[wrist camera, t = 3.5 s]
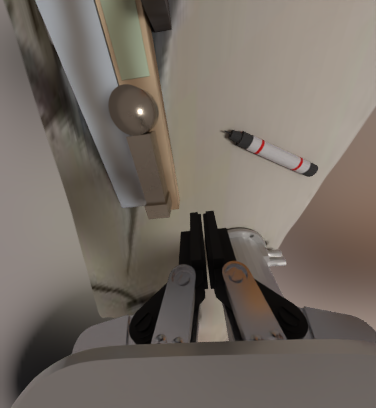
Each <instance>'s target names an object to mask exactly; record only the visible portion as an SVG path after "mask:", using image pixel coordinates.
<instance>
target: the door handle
mask: <svg viewBox="0 0 376 408" xmlns="http://www.w3.org/2000/svg"><path fill="white" fill-rule="evenodd" d="M108 108H109V113H110V116H111V119H112V120H113V122H114V124H115V125H116V126H117V127H118V128H119V129H120V130H121V131H122V132H124V133H126V134H128V135H130V136H127V137H126V139H127V142H128V145H129V148H130V152H131V155H132V158H133V161H134V164H135V168H136V171H137V174H138V177H139V181H140V184H141V187H142V190H143V193H144V197H145V200H146V205H145V209H146V212H147V215H148V218H149V219H156V218H167V217H170V212H171V207H172V199H171V194H170V191H168V189H167V184H166V179H165V175H164V170H163V165H162V160H161V156H160V151H159V146H158V141H157V137H156V132H155V131H150V130H151V129H153V128H154V127H155V125H156V124H157V121H158V118H159V110H158V106H157V103H156V101H155V99H154V98H153V97H152V95H151V94H150V93H148V92H147V91H145V90H143V89H141V88H138V87H136V86H133V85H130V84H123V85H120V86H118V87H116V88H115V89H114V90H113V91H112V93H111V95H110V97H109V102H108Z"/></svg>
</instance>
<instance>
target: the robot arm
mask: <svg viewBox="0 0 376 408" xmlns="http://www.w3.org/2000/svg"><path fill="white" fill-rule="evenodd" d="M203 220H204V232H205V244H206V252H207V261H208V269H209V278H210V286H211V289H214V291H215V294H216V298H218V299H219V300H220V301H221V302H222V305H223V308H224V314H225V320H226V326H227V332H228V338H229V341H226V342H197V341H198V328H199V315H200V304H201V302H202V301H203V300H204V299H205V289H208V282H207V271H206V260H205V250H204V240H203V231H202V222H201V214H198V212H195V213H190V231H185V232H181V239H180V254H179V265H178V266H176V267H175V268H174V269H173V270H172V271H171V273H170V275H169V279H168V282H167V284H166V285H164V286H163V287H162V288H161V289H160V290H159V291H158V292H157V293H156V294H155V295H154V296H153V297H152V298H151V299H150V300H149V301H148V302H146V303H145V304H144V305H143V306H142V307H141V308H140V309H139V310H138V311H137V312H136V313H135V314H134V315H131V316H129V315H125V316H122V317H119V318H116V319H113V320H110V321H106V322H103V323H100V324H97V325H94V326H91V327H89V328H87V329H86V330H85V331H84V332H83V333H82V334H81V335H80V336H79V338H78V339H77V342H76V343H75V346H74V349H73V352H72V355H70V356H68V357H65V358H63V359H62V360H60V361H58V362H56V363H55V364H53V365H51V366H50V367H48V368H47V369H45V370H44V371H43V372H42V373H40V374H39V375H38V376H37V377H36V378H35V379H33V380H32V381H31V383H30V384H29V385H28V386H27V387H26V388H25V389H24V391H23V392H22V393H21V394H20V396H19V397H18V399H17V400H16V401H15V402H14V404H13V405H12V407H11V408H376V331H375V330H374V329H373V328H372V327H371V326H369V325H368V324H367V323H366V322H364V321H363V320H361V319H359V318H357V317H354V316H351V315H347V314H341V313H336V312H331V311H326V310H320V309H315V308H310V307H304V308H299V307H297V306H295V305H294V304H293V303H291V302H290V301H288V300H287V299H285V298H284V297H283V295H282V293H281V291H280V289H279V287H278V284H277V283H276V280H275V278H274V276H273V274H272V273H271V271H270V266H283V265H284V266H285V265H286V260H285V258H284V257H283V256H282V253H281V251H280V250H279V249H278V250H268V249H266V243H265V241H264V239H263V237H262V236H261V235H260V234H258V233H257V232H255V231H253V230H250V229H244V228H237V229H231V230H227V229H226V228H221V229H217V224H216V220H215V216H214V211H206V214H203Z"/></svg>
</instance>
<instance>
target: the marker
mask: <svg viewBox="0 0 376 408" xmlns="http://www.w3.org/2000/svg"><path fill="white" fill-rule="evenodd" d="M225 132H227V131H225ZM227 133H229V132H227ZM229 134H230V135H229V139H231V140H232V141H234V142H235V143H236V145H237V146H240V147H242V148H244V149H246V150H248V151H250V152H252V153H255V154H257V155H259V156H261V157H264V158H266V159H268V160H271V161H273V162H275V163H277V164H280V165H282V166H284V167H286V168H289V169H291V170H293V171H296V172H298V173H301V174H303V175H305V176H308V177H310V176H313V175H314V174H315V173H316V172H317V170H318V166H317V165H315V164H313V163H310V162H309V161H307V160H305V159H303V158H300V157H298V156H296V155H294V154H292V153H290V152H288V151H285V150H283V149H281V148H279V147H277V146H275V145H273V144H270V143H268V142H266V141H264V140H262V139H260V138H257V137H255V136H253V135H250V134H248V133H246V132H244V131H243V132H238V131H235V130H232V131H231V133H229Z"/></svg>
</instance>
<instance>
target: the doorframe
mask: <svg viewBox="0 0 376 408" xmlns="http://www.w3.org/2000/svg"><path fill="white" fill-rule="evenodd" d="M35 1H36V3H37V6H38V8H39V11H40V13H41V15H42V18H43V20H44V22H45V25H46V27H47V30H48V32H49V34H50V37H51V39H52V42H53V44H54V46H55V49H56V51H57V54H58V56H59V58H60V61H61V63H62V65H63V68H64V70H65V73H66V75H67V77H68V80H69V82H70V85H71V87H72V89H73V92H74V94H75V96H76V99H77V101H78V104H79V106H80V108H81V111H82V113H83V116H84V118H85V120H86V123H87V125H88V128H89V130H90V132H91V135H92V137H93V139H94V142H95V144H96V147H97V149H98V151H99V154H100V156H101V159H102V161H103V163H104V166H105V168H106V171H107V173H108V175H109V178H110V180H111V182H112V185H113V187H114V190H115V192H116V194H117V197H118V199H119V202H120V204H121V206H122V208H125V207H136V206H145V205H146V200H145V197H144V193H143V190H142V187H141V184H140V181H139V177H138V174H137V171H136V168H135V164H134V161H133V158H132V155H131V152H130V148H129V145H128V142H127V139H126V137H127V136H130V135H128V134H126V133H124V132H122V131H121V130H120V129H119V128H118V127H117V126H116V125H115V124H114V122H113V120H112V119H111V116H110V113H109V108H108V102H109V97H110V95H111V93H112V91H113V90H114V89H115V88H116V87H118V86H120V85H123V84H130V85H133V86H136V87H138V88H141V89H143V90H145V91H147V92H148V93H150V94H151V95H152V97H153V98H154V99H155V101H156V103H157V106H158V110H159V118H158V121H157V124H156V125H155V127H154V128H153V129H151V130H150V131H155V132H156V137H157V141H158V146H159V151H160V156H161V160H162V165H163V170H164V175H165V179H166V184H167V189H168V191H170V194H171V199H172V207H171V210H173V209H179V203H180V197H179V191H178V186H177V180H176V174H175V168H174V162H173V156H172V150H171V144H170V138H169V133H168V127H167V121H166V115H165V109H164V103H163V97H162V91H161V85H160V80H159V74H158V68H157V62H156V56H155V50H154V44H153V38H152V32H151V27H150V22H151V24H152V26H153V29H154V31H155V32H159V31H165V30H171V29H172V28H171V20H170V11H169V3H168V0H35ZM149 20H150V21H149Z"/></svg>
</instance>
